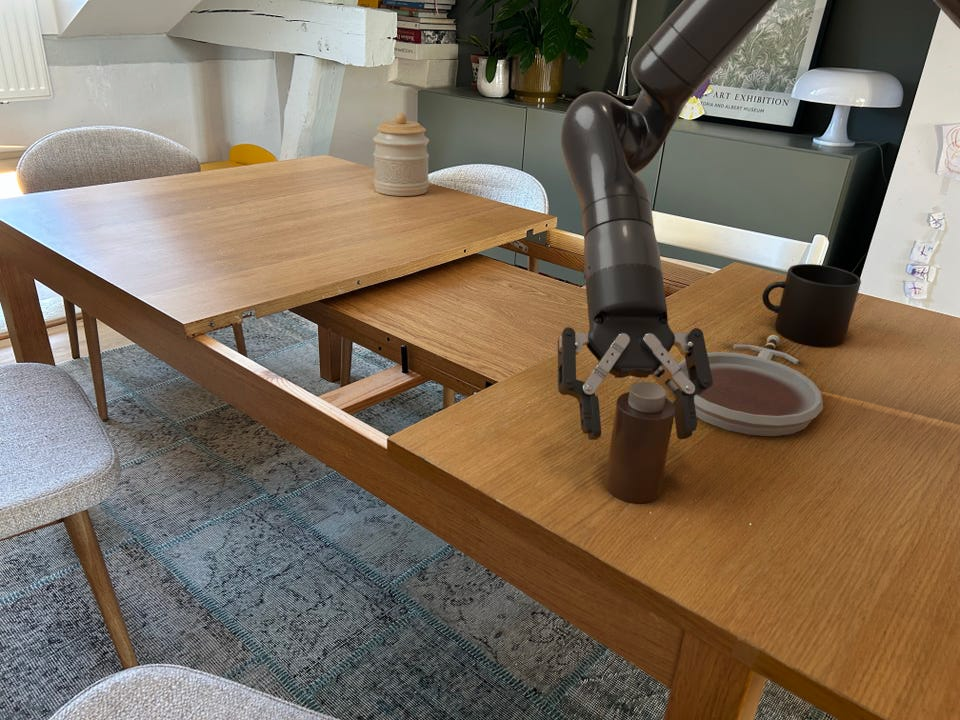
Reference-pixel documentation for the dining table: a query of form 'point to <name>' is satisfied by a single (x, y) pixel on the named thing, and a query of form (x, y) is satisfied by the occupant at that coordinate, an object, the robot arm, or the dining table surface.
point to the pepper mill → (639, 443)
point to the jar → (401, 158)
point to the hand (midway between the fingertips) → (640, 437)
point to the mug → (815, 304)
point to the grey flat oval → (757, 393)
